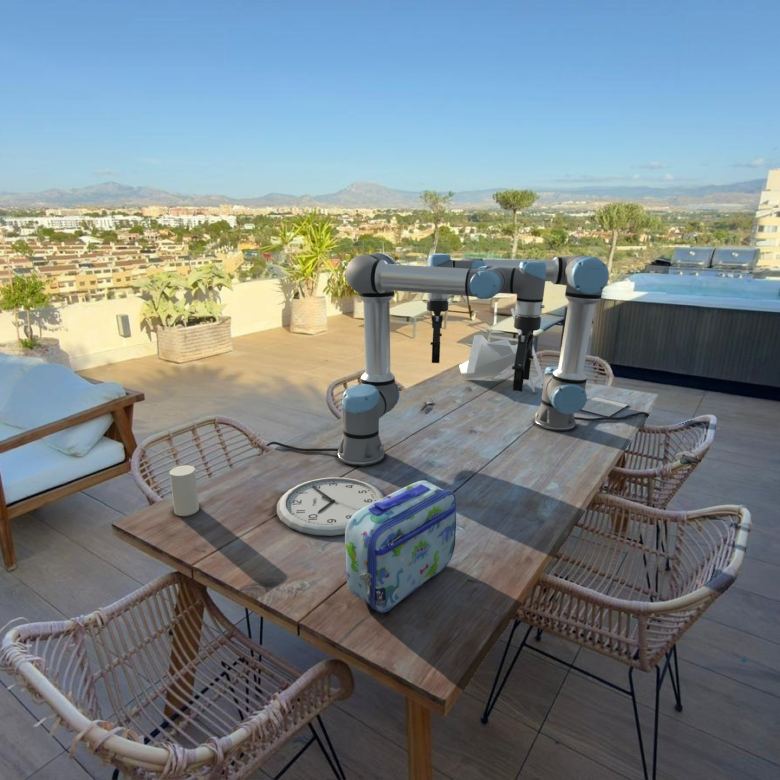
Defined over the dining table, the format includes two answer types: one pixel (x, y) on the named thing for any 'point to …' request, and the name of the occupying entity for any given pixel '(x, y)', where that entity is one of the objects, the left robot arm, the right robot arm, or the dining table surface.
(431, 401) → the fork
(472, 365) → the white plastic object
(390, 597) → the lunch box
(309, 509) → the wall clock
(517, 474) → the dining table surface
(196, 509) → the canister
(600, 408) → the invitation card
